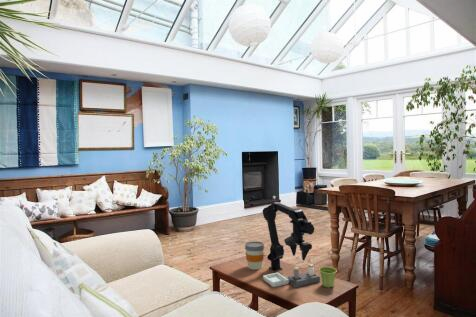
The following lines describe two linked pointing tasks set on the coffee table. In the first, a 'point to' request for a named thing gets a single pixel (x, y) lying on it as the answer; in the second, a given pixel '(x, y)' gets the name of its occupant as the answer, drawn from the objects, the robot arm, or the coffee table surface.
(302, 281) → the fuse holder
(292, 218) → the robot arm
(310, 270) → the cylinder
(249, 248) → the reusable coffee cup
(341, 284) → the coffee table surface
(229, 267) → the coffee table surface
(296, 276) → the cream capped cylinder
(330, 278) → the plant pot
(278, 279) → the parts tray
